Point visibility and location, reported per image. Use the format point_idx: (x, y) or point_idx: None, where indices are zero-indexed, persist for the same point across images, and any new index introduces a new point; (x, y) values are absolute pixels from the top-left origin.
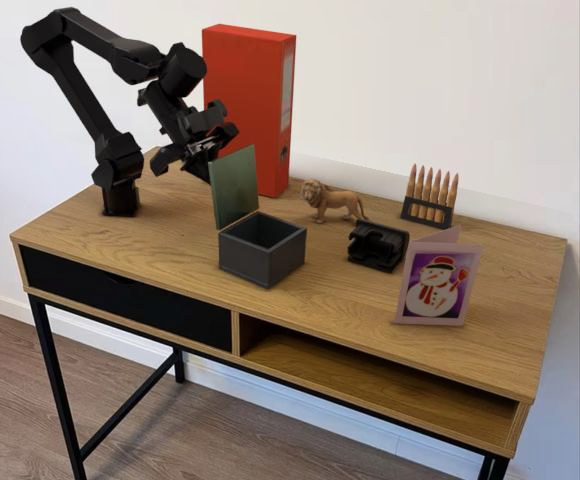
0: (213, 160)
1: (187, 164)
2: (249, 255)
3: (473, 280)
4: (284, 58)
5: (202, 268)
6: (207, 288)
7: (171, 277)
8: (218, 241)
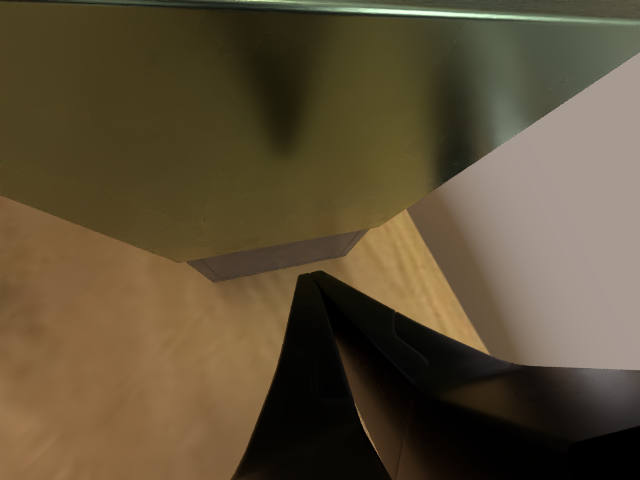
0: (632, 6)
1: (621, 472)
2: None
3: None
4: None
5: (370, 277)
6: (396, 219)
7: (433, 287)
8: (365, 233)
